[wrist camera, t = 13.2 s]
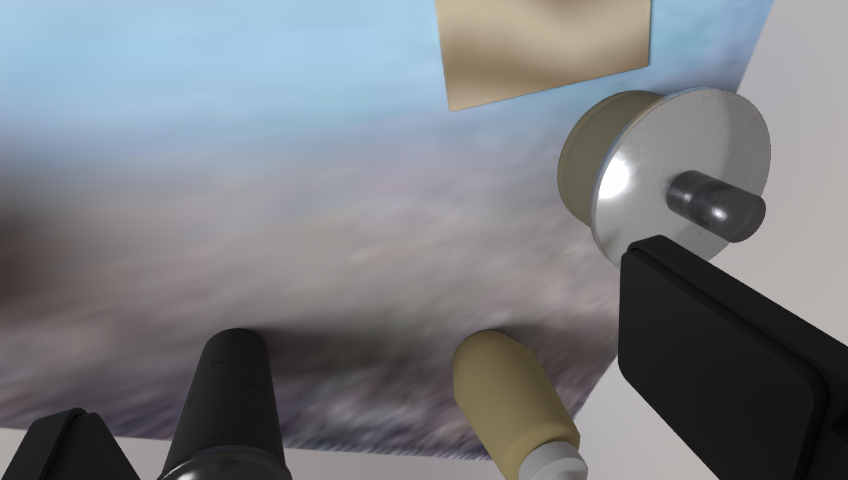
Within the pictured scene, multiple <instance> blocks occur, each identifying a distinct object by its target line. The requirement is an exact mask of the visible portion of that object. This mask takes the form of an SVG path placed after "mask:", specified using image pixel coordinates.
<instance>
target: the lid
mask: <svg viewBox="0 0 848 480" xmlns="http://www.w3.org/2000/svg"><path fill="white" fill-rule="evenodd" d="M770 159H771V144H770V137H769V133H768V129H767V125H766V123H765V121H764V119H763V117H762V115H761V114H760V112H759V111H758V109H757V108H756V107H755V106H754V105H753V104H752V103H751V102H750V101H749V100H747V99H746V98H744V97H742V96H741V95H738V94H736V93H733V92H730V91H726V90H721V89H715V88H710V87H695V88H689V89H684V90H680V91H677V92H674V93H671V94H669V95H667V96H665V97H662V98H660V99H659V100H657V101H655V102H654V103H652V104H650V105H649V106H647V107H646V108H645V109H644V110H642V111H641V112H640V113H638V114H637V115H636V116H635V117H634V118H633V119H632V120H631V121H630V122H629V123H628V124H627V125H626V126H625V127H624V128H623V129H622V131H621V132H620V133H619V134H618V135H617V137H616V138H615V139H614V141H613V142H612V144H611V145H610V147H609V148H608V150H607V152H606V153H605V155H604V157H603V159H602V161H601V163H600V165H599V168H598V170H597V172H596V175H595V178H594V182H593V185H592V189H591V195H590V202H589V221H590V227H591V232H592V235H593V238H594V240H595V243H596V245H597V246H598V248H599V250H600V251H601V253H602V254H603V255H604V256H605V257H606V258H607V259H608V260H609V261H610V262H612V263H613V264H614V265H615V266H617V267H618V268H619V269H621V257H622V255H623V254H624V253H625V252H627V248H628V246H629V244H631V243H632V242H635V241H638V240H642V239H645V238H649V237H652V236H655V235H663V236H666V237H668V238H669V239H671V240H673V241H674V242H676V243H678V244H679V245H681V246H683V247H684V248H686V249H687V250H689V251H691V252H692V253H694V254H696V255H697V256H699V257H701V258H702V259H704V260H706V261H709V260H710V259H712V258H713V257H714V256H716V255H717V254H718V253H719V252H720V251H721V250H722V249H724V248H725V247H726V246H727V245H728V244H729V243H730V242H732V243H736V242H741V241H744V240H746V239H747V238H749V237H750V236H752V235H753V234H754V233H755V232H756V231H757V229H758V228H759V227H760V225H761V224H762V221H763V219H764V217H765V213H766V205H765V202H764V200H763V199H762V198H761V195H762V193H763V190H764V187H765V184H766V181H767V177H768V173H769V167H770Z"/></svg>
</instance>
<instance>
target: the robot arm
mask: <svg viewBox="0 0 848 480" xmlns="http://www.w3.org/2000/svg"><path fill="white" fill-rule="evenodd" d="M618 365H619V368H620V371H621V373H622V375H623V376H624V378H625V379H626V380H627V381H628V382H629V384H630V385H631V386H632V387H633V388H634V389H635V390H636V391H637V392H638V393H639V394H640V395H641V396H642V397H643V399H644V400H645V401H646V402H647V403H648V404H649V405H650V406H651V407H652V408H653V409H654V410H655V411H656V412H657V413H658V414H659V415H660V417H661V418H662V419H663V420H664V421H665V422H666V423H667V424H668V425H669V426H670V427H671V428H672V429H673V431H674V432H675V433H676V434H677V435H678V436H679V437H680V438H681V439H682V440H683V441H684V442H685V443H686V444H687V445H688V447H689V448H690V449H691V450H692V451H693V452H694V453H695V454H696V455H697V456H698V457H699V458H700V459H701V460H702V462H703V463H704V464H705V465H706V466H707V467H708V468H709V469H710V470H711V471H712V472H713V473H714V474H715V475H716V476H717V478H718V479H719V480H848V346H846V345H844V344H843V343H841V342H840V341H838V340H836V339H835V338H833V337H831V336H830V335H828V334H826V333H825V332H823V331H821V330H820V329H818V328H816V327H815V326H813V325H811V324H810V323H808V322H806V321H805V320H803V319H801V318H800V317H798V316H797V315H795V314H793V313H792V312H790V311H788V310H787V309H785V308H783V307H782V306H780V305H778V304H777V303H775V302H773V301H772V300H770V299H768V298H767V297H765V296H763V295H762V294H760V293H759V292H757V291H755V290H754V289H752V288H750V287H749V286H747V285H745V284H744V283H742V282H740V281H739V280H737V279H735V278H734V277H732V276H730V275H729V274H727V273H725V272H724V271H722V270H720V269H719V268H717V267H715V266H714V265H712V264H711V263H709V262H707V261H706V260H704V259H702V258H701V257H699V256H697V255H696V254H694V253H692V252H691V251H689V250H687V249H686V248H684V247H683V246H681V245H679V244H678V243H676V242H674V241H673V240H671V239H669V238H668V237H666V236H663V235H655V236H652V237H649V238H645V239H642V240H638V241H635V242H632V243H631V244H629V246H628V248H627V252H625V253H624V254H623V255H622V257H621V269H620V304H619V339H618ZM1 480H140V478H139V477H138V475H137V473H136V472H135V470H134V469H133V467H132V465H131V464H130V462H129V461H128V459H127V458H126V456H125V455H124V453H123V451H122V450H121V448H120V447H119V445H118V444H117V442H116V440H115V439H114V437H113V436H112V434H111V432H110V431H109V429H108V428H107V426H106V425H105V423H104V421H103V420H102V418H101V417H100V416H99V415H98V414H97V413H89V414H88V413H87V412H86V411H85V410H83V409H82V408H73V409H70V410H66V411H63V412H60V413H56V414H53V415H49V416H46V417H43V418H39V419H37V420H36V421H34V422H33V423H32V425H31V426H30V427H29V429H28V431H27V433H26V435H25V437H24V438H23V441H22V442H21V444H20V446H19V448H18V450H17V452H16V453H15V455H14V457H13V459H12V461H11V463H10V464H9V466H8V468H7V470H6V472H5V474H4V475H3V477H2V479H1Z"/></svg>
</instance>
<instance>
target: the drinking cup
mask: <svg viewBox="0 0 848 480" xmlns="http://www.w3.org/2000/svg"><path fill="white" fill-rule="evenodd" d="M157 480H293V479H292V476H291V473H290V471H289V469H288V468H287V466H286V464H285V458H284V451H283V445H282V439H281V432H280V426H279V420H278V414H277V408H276V401H275V395H274V389H273V383H272V377H271V370H270V364H269V358H268V352H267V347H266V344H265V342H264V341H263V340H262V338H260V337H259V336H258V335H257V334H255V333H253V332H251V331H248V330H244V329H229V330H225V331H222V332H220V333H218V334H216V335H214V336H213V337H212V338H211V339H210V340H209V341H208V342H207V343H206V345H205V346H204V349H203V352H202V355H201V358H200V361H199V364H198V367H197V370H196V373H195V376H194V379H193V382H192V385H191V387H190V390H189V393H188V396H187V399H186V402H185V405H184V408H183V411H182V414H181V417H180V420H179V423H178V426H177V429H176V432H175V435H174V438H173V441H172V444H171V447H170V450H169V453H168V456H167V459H166V462H165V465H164V468H163V471H162V474H161V475H160V476H159V477H158V478H157Z"/></svg>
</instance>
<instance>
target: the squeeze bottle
mask: <svg viewBox="0 0 848 480" xmlns="http://www.w3.org/2000/svg"><path fill="white" fill-rule="evenodd" d="M453 383H454V399H455V401H456V402H457V404H458V406H459V407H460V409H461V410H462V412H463V413H464V415H465V417H466V418H467V420H468V421H469V423H470V424H471V426H472V428H473V429H474V431H475V432H476V434H477V435H478V437H479V439H480V440H481V442H482V443H483V445H484V446H485V448H486V450H487V451H488V453H489V454H490V456H491V457H492V459H493V461H494V462H495V464H496V465H497V467H498V468H499V470H500V472H501V473H502V475H503V476H504V477H505V479H506V480H586V479H587V474H588V467H587V465H586V463H585V461H584V460H583V458H582V457H581V456H580V454H579V453H578V449H579V443H580V434H579V432H578V431H577V428H576V426H575V424H574V423H573V421H572V419H571V417H570V415H569V414H568V412H567V410H566V408H565V407H564V405H563V403H562V401H561V400H560V398H559V396H558V394H557V392H556V391H555V389H554V387H553V385H552V384H551V382H550V380H549V378H548V377H547V375H546V373H545V371H544V369H543V368H542V366H541V364H540V362H539V361H538V359H537V357H536V355H535V354H534V352H533V351H532V350H530V349H528V348H527V347H525V346H524V345H522V344H520V343H519V342H517V341H515V340H513V339H512V338H510V337H508V336H506V335H505V334H503V333H501V332H499V331H492V330H486V331H482V332H477V333H475V334H473V335H472V336H470V337H468V338H467V339H465V340H464V341H463V342H462V343H461V345H460V346H459V347H458V348H457V350H456V352H455V355H454V357H453Z"/></svg>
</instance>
